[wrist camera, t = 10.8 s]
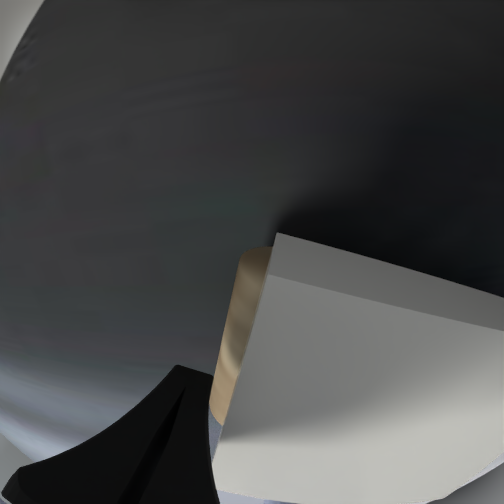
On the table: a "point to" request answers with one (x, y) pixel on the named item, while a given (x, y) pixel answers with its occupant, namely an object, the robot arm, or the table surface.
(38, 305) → the table surface
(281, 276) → the slab
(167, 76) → the table surface
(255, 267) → the roller track
